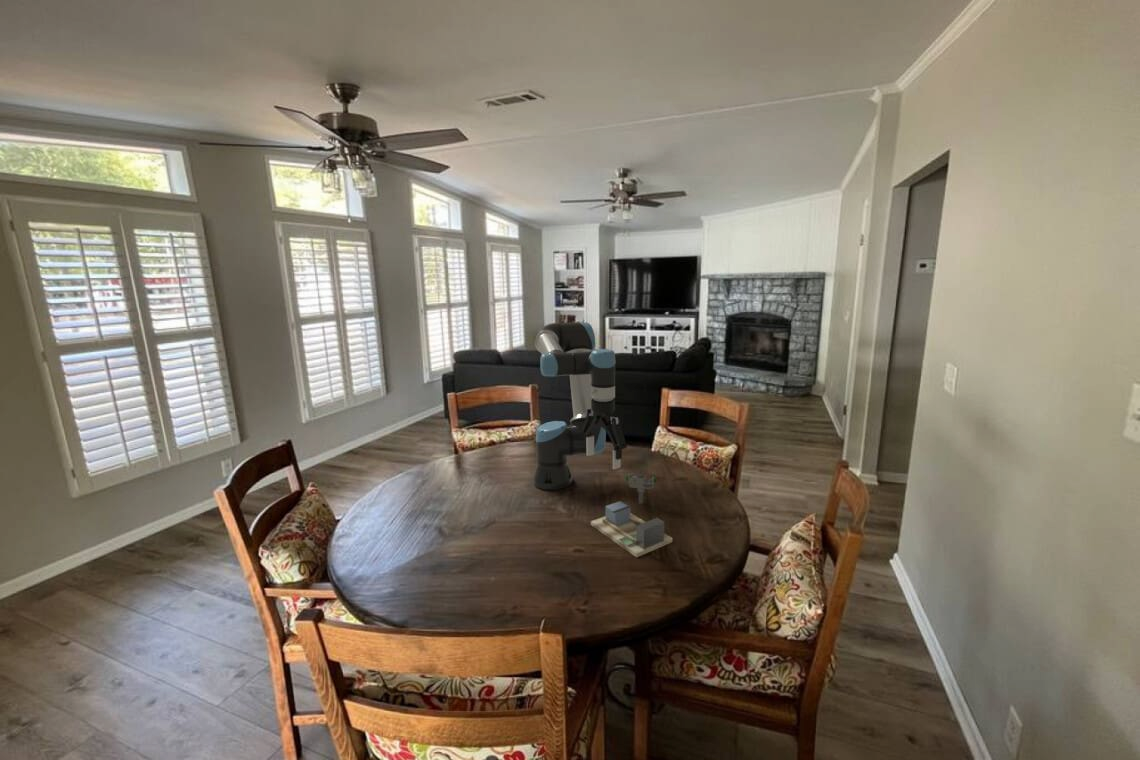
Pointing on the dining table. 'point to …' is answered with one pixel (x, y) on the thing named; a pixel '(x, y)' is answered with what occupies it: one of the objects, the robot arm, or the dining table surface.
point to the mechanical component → (640, 484)
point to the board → (627, 534)
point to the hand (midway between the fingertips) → (603, 461)
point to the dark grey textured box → (650, 533)
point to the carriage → (617, 513)
